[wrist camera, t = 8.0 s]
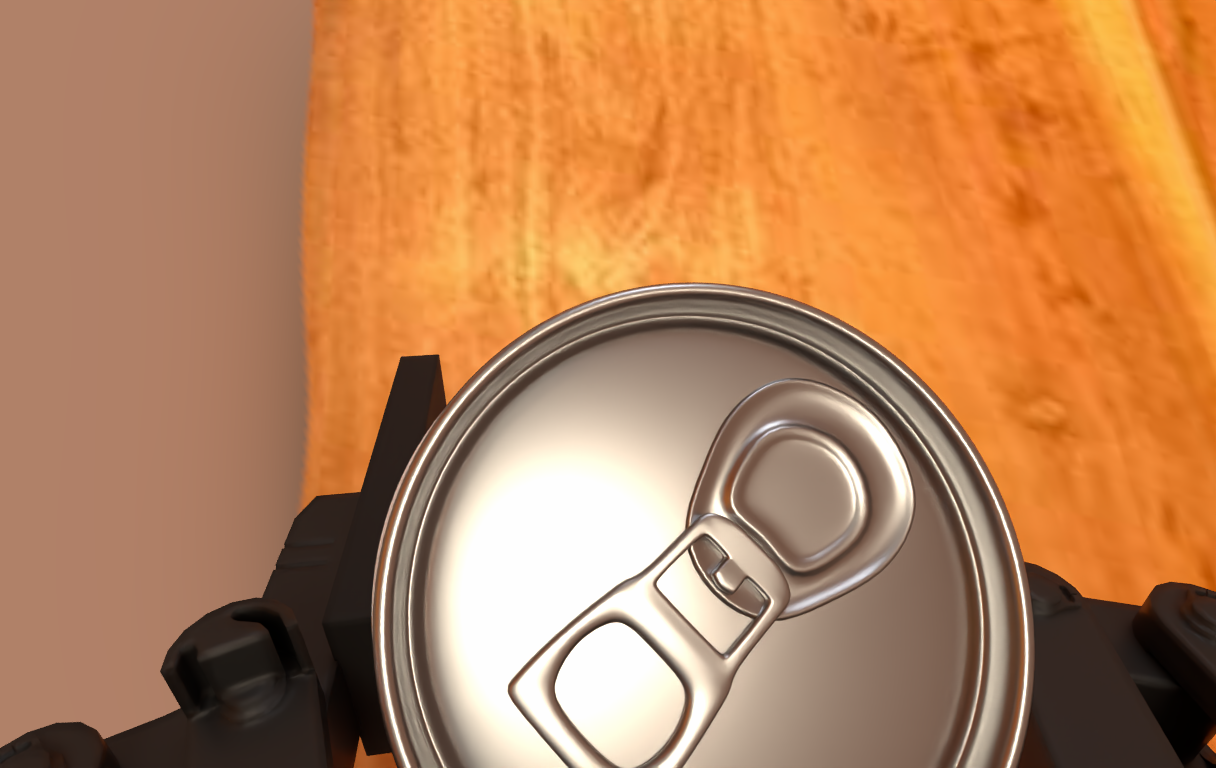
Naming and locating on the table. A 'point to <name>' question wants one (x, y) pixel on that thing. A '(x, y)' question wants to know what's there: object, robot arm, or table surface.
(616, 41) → the table surface
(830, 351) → the can
